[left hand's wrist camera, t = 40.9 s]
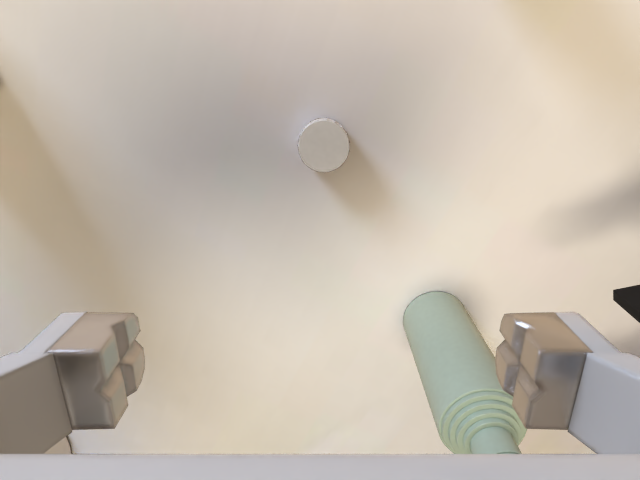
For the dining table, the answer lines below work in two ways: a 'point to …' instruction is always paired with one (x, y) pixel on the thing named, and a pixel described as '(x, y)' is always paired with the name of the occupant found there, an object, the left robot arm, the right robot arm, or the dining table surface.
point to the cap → (323, 145)
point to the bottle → (460, 378)
